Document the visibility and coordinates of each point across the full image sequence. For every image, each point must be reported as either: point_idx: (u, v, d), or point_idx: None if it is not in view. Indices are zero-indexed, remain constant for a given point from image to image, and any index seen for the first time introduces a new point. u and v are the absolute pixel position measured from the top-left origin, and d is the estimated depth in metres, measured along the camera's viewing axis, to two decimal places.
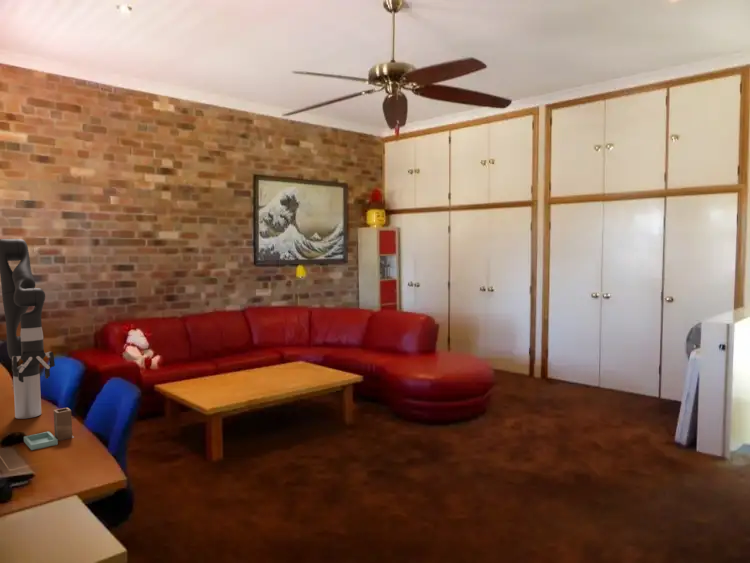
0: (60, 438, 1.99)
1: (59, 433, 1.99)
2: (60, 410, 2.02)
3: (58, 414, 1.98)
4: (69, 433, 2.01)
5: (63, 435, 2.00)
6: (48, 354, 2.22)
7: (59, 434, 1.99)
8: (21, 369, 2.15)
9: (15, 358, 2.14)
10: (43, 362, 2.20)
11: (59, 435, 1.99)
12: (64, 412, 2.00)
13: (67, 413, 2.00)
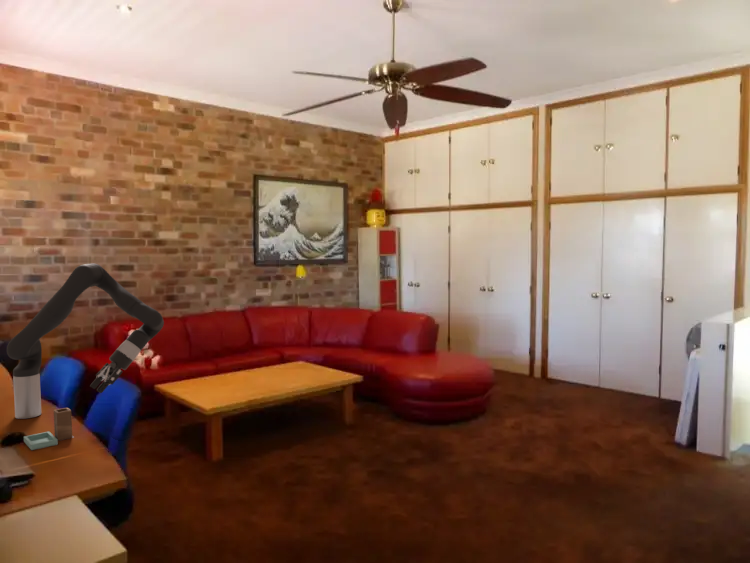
0: (60, 438, 1.99)
1: (59, 433, 1.99)
2: (60, 410, 2.02)
3: (58, 414, 1.98)
4: (69, 433, 2.01)
5: (63, 435, 2.00)
6: None
7: (59, 434, 1.99)
8: None
9: None
10: None
11: (59, 435, 1.99)
12: (64, 412, 2.00)
13: (67, 413, 2.00)
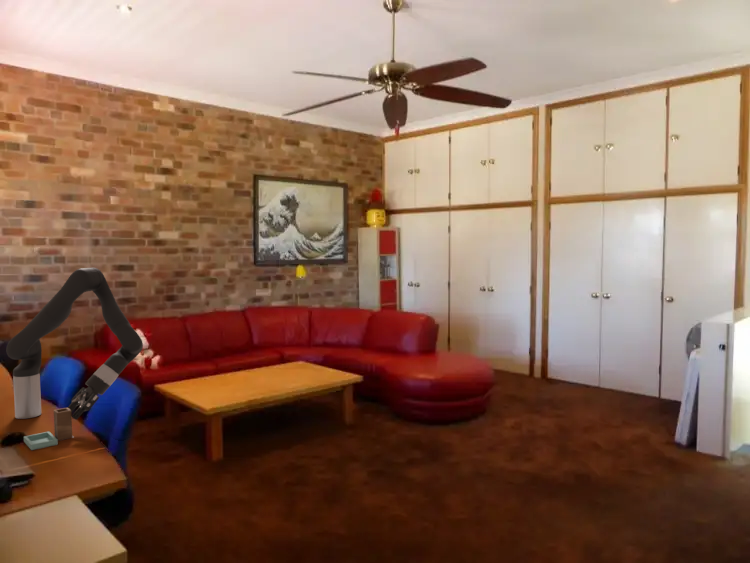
0: (60, 438, 1.99)
1: (59, 433, 1.99)
2: (60, 410, 2.02)
3: (58, 414, 1.98)
4: (69, 433, 2.01)
5: (63, 435, 2.00)
6: None
7: (59, 434, 1.99)
8: None
9: None
10: None
11: (59, 435, 1.99)
12: (64, 412, 2.00)
13: (67, 413, 2.00)
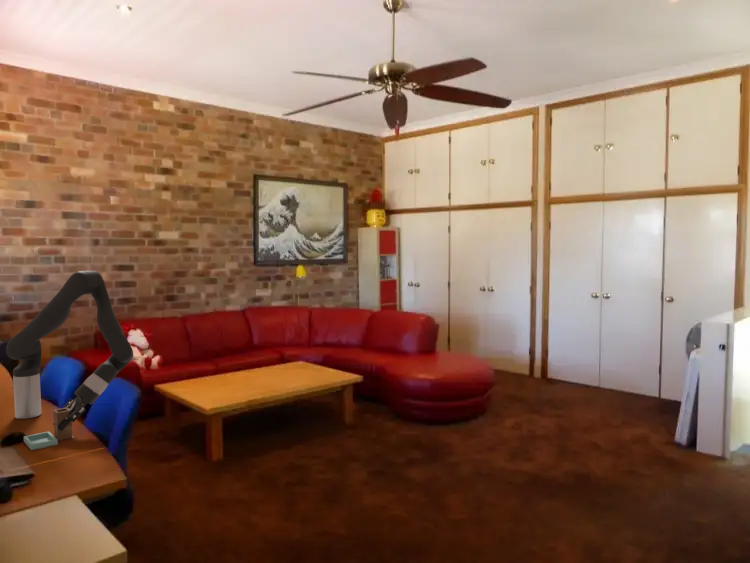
0: (60, 438, 1.99)
1: (59, 433, 1.99)
2: (60, 410, 2.02)
3: (58, 414, 1.98)
4: (69, 433, 2.01)
5: (63, 435, 2.00)
6: None
7: (59, 434, 1.99)
8: None
9: None
10: None
11: (59, 435, 1.99)
12: (64, 412, 2.00)
13: (67, 413, 2.00)
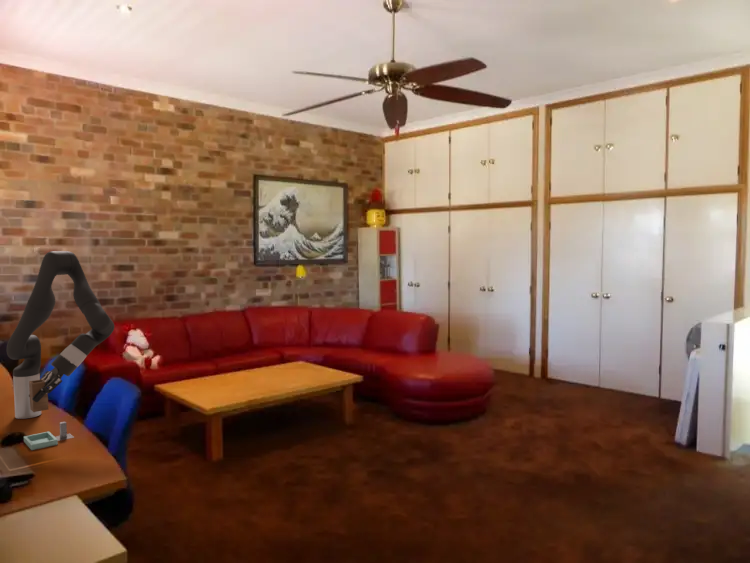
0: (35, 410, 1.93)
1: (34, 405, 1.92)
2: (36, 381, 1.96)
3: (33, 385, 1.92)
4: (45, 405, 1.94)
5: (39, 407, 1.93)
6: None
7: (34, 406, 1.92)
8: None
9: None
10: None
11: (34, 407, 1.92)
12: (40, 383, 1.93)
13: (43, 384, 1.94)
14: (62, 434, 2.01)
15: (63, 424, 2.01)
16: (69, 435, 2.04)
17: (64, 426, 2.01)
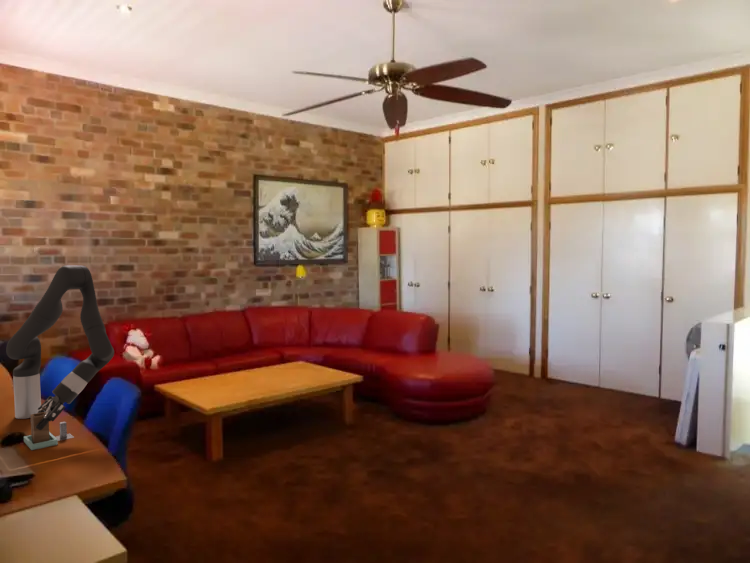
0: None
1: (36, 438, 1.93)
2: (37, 414, 1.96)
3: (34, 419, 1.93)
4: (46, 438, 1.95)
5: (40, 440, 1.94)
6: None
7: (36, 439, 1.93)
8: None
9: None
10: None
11: (36, 440, 1.93)
12: (41, 417, 1.94)
13: None
14: (62, 434, 2.01)
15: (63, 424, 2.01)
16: (69, 435, 2.04)
17: (64, 426, 2.01)
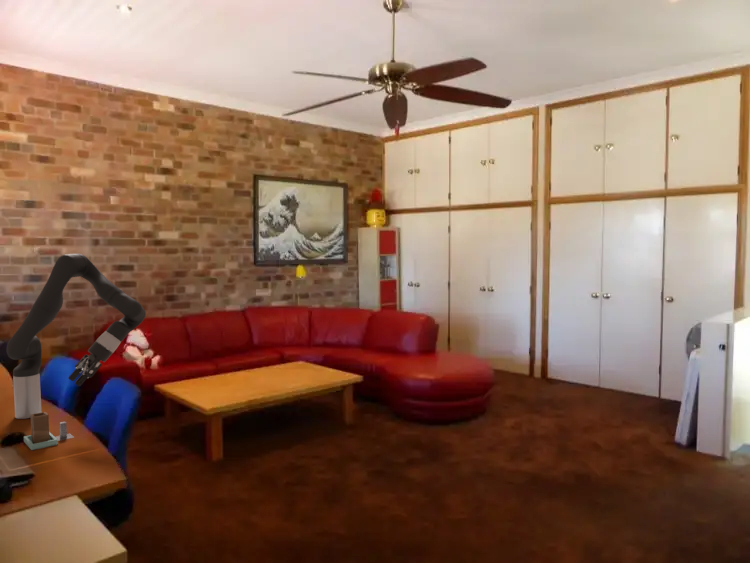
0: None
1: (36, 438, 1.93)
2: (37, 414, 1.96)
3: (34, 419, 1.93)
4: (46, 438, 1.95)
5: (40, 440, 1.94)
6: None
7: (36, 439, 1.93)
8: None
9: None
10: None
11: (36, 440, 1.93)
12: (41, 417, 1.94)
13: (44, 418, 1.94)
14: (62, 434, 2.01)
15: (63, 424, 2.01)
16: (69, 435, 2.04)
17: (64, 426, 2.01)
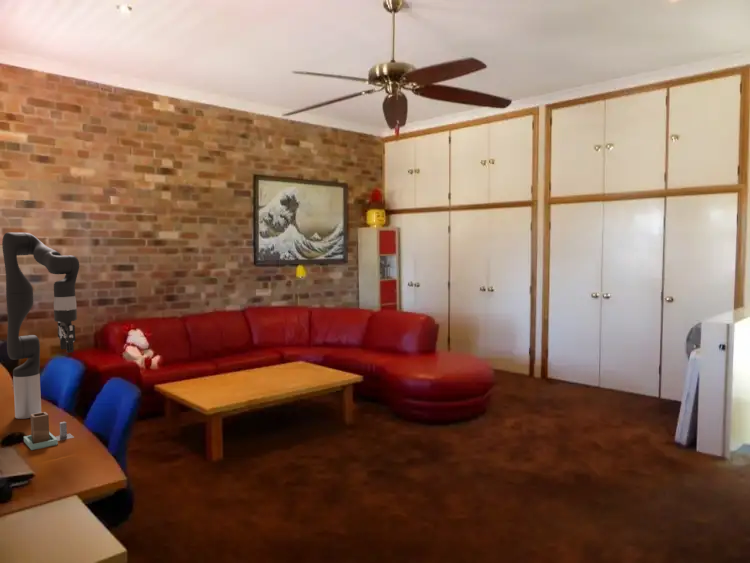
0: None
1: (36, 438, 1.93)
2: (37, 414, 1.96)
3: (34, 419, 1.93)
4: (46, 438, 1.95)
5: (40, 440, 1.94)
6: None
7: (36, 439, 1.93)
8: None
9: None
10: None
11: (36, 440, 1.93)
12: (41, 417, 1.94)
13: (44, 418, 1.94)
14: (62, 434, 2.01)
15: (63, 424, 2.01)
16: (69, 435, 2.04)
17: (64, 426, 2.01)
